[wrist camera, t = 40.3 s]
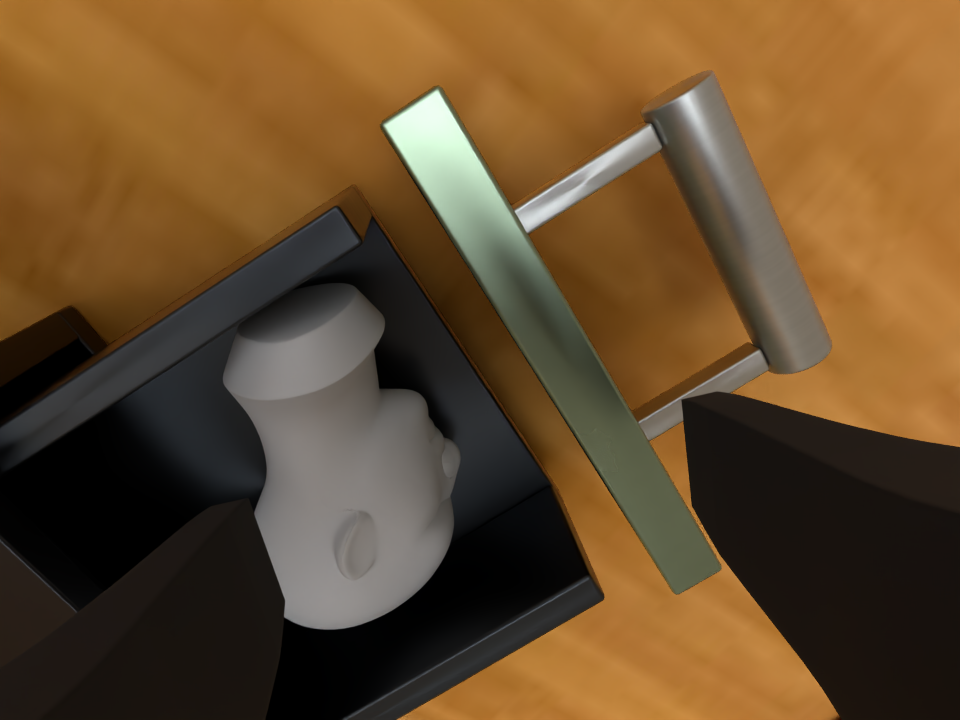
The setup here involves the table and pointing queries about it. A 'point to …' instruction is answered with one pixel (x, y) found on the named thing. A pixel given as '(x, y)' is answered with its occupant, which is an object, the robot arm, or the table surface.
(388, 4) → the table surface
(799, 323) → the drawer
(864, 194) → the table surface
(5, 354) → the black box
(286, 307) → the pale two-lobed sculpture
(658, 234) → the table surface
